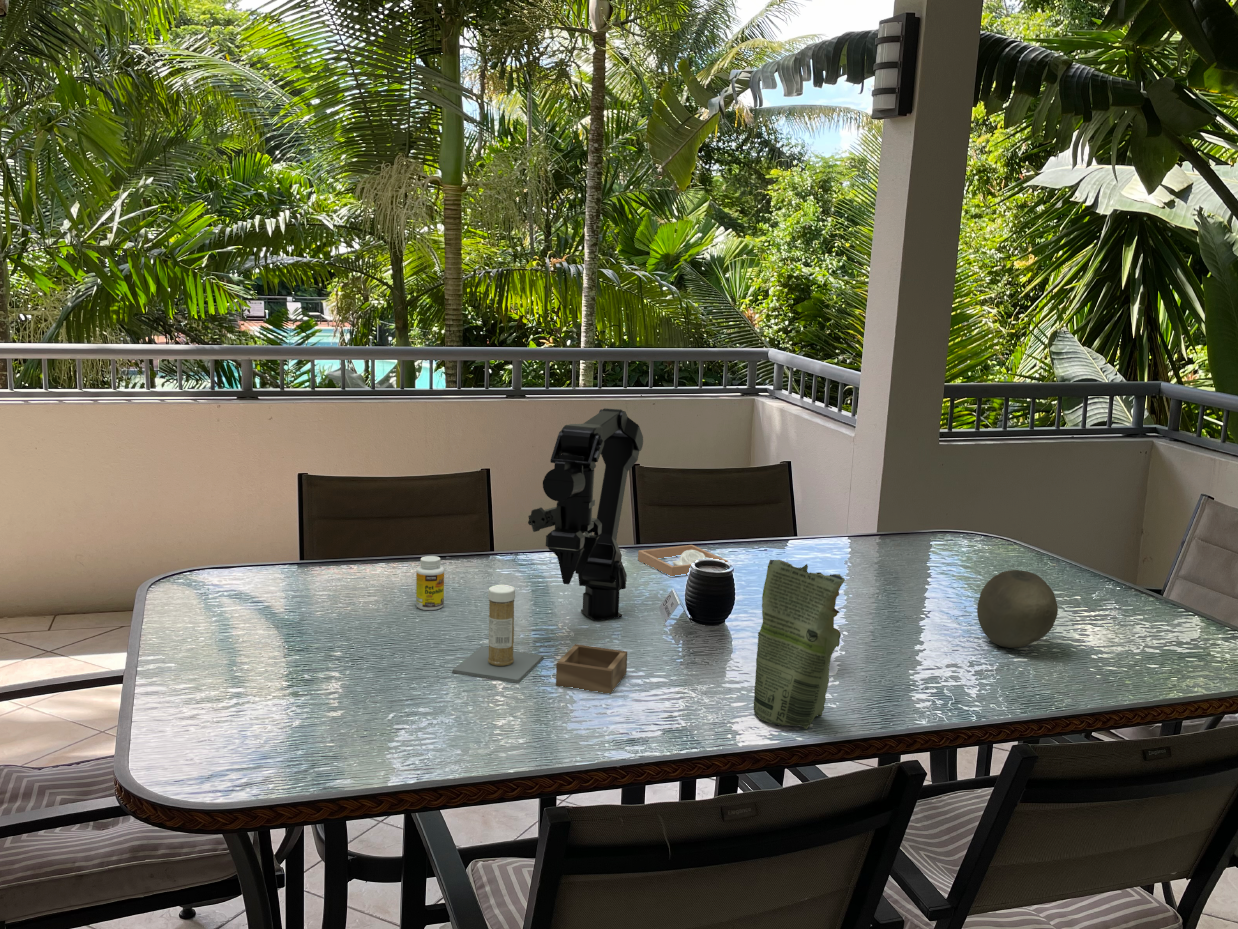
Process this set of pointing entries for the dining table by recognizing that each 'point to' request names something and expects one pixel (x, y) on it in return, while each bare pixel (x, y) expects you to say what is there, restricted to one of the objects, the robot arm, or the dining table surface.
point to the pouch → (795, 644)
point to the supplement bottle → (430, 584)
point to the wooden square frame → (652, 556)
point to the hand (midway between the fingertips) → (572, 578)
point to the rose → (689, 557)
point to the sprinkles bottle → (501, 624)
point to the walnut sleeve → (591, 668)
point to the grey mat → (510, 673)
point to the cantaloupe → (1016, 608)
